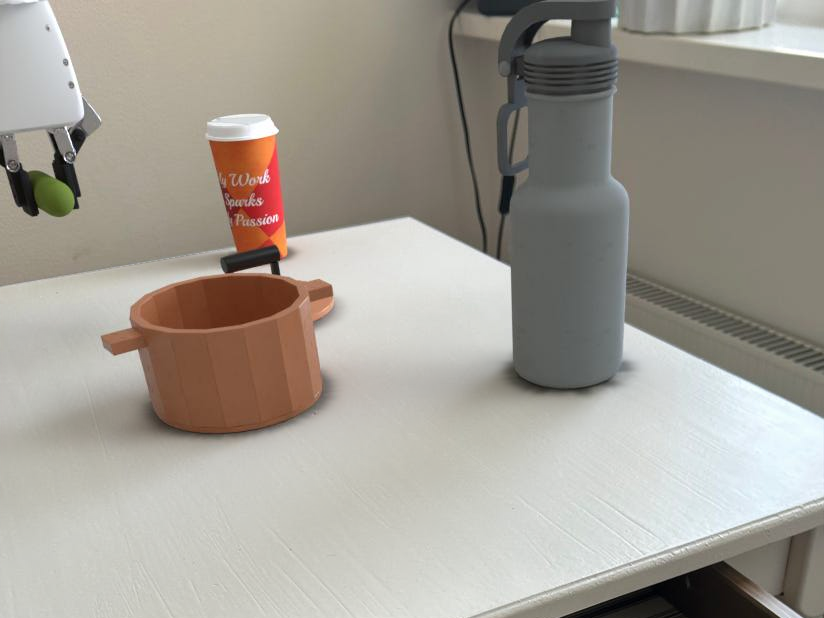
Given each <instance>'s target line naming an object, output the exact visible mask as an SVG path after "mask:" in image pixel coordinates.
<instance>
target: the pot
mask: <svg viewBox="0 0 824 618" xmlns="http://www.w3.org/2000/svg"><path fill="white" fill-rule="evenodd" d="M280 275H281V274H280ZM280 275H274V274H272V273H267V272H234V273H227V274H225V273H220V274H213V275H204V276H199V277H198V276H197V277H194V278H190V279H186V280H182V281H178V282H177V281H176V282H174V283H170V284H167V285H165V286H162V287H160V288H157V289H155V290H152V291H150V292H148V293H146V294H144V295H143V296H141V298H139V299H137V301H135V302H134V303H133V304H132V305H130V309H129V322H130V326H131V327H128V328H125V329H121V330H117V331H113V332H110V333H106V334H102V335H100V340H101V343H102V347H103V348H104V349H105V350H106V351H107V352H108V353H110V354H111V355H112V356H115V357H116V356H119V355H122V354H127V353H129V352H133V351H137V353H138V356H139V359H140V364H141V367H142V371H143V375H144V378H145V383H146V386H147V389H148V392H149V393H148V394H149V397H150V400H151V404H152V408H153V410H154V411H155V414H156V416H157V417H158V419H160V421H162V422H163V423H164V424H166V425H168V426H170V427H172V428H175V429H178V430H182V431H186V432H192V433H199V434H200V433H201V434H227V433H228V434H229V433H239V432H240V433H241V432H246V431H252V430H258V429H263V428H266V427H267V428H268V427H270V426H273V425H277V424H280V423H283V422H285V421H288V420H290V419H292V418H295V417H297V416H299V415H300V414H302V413H305V411H307V410H309V408H311V407H312V406H313V405H315V404H316V403H317V401H318V400H319V399H320V398H321V394H323V393H322V392H323V385H324V384H323V377H322V371H321V363H320V358H319V351H318V345H317V338H316V330H315V325H314V321H313V317H312V311H311V304H310V302H313V301H317V300H320V299H324V298H328V297H331V296H333V297H334V289H333V285H332V284H331V283H329V282H327V281H324V280H323V279H321V278H317V279H312V280H308V281H307V282H304V283H301V282H299V281H297V280H298V279H295V278H293V277H291V276H285V275H281V276H280Z"/></svg>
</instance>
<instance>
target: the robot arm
mask: <svg viewBox="0 0 824 618" xmlns="http://www.w3.org/2000/svg"><path fill="white" fill-rule="evenodd" d="M69 126H70V127H69ZM101 126H102V118H101V117H100V115H98V113H97V112H96V110H95V109H94V108H93V107H92V105H91V104H90V103H89V101H88V100H87V99H86V98H85V96H84V95H83V94H82V92H81V89H80V86H79V82H78V78H77V74H76V72H75V69H74V66H73V63H72V59H71V56H70V53H69V51H68V47H67V45H66V42H65V39H64V37H63V34H62V31H61V28H60V26H59V24H58V21H57V18H56V15H55V14H54V11H53V8H52V6H51V4H50V2H49V0H0V166H1V167H2V168H4V171H5V173H6V177H7V181H8V184H9V187H10V190H11V194H12V197H13V200H14V203H15V205H16V207H18V208H22V211H23V212H24V213H25V214H27V215H28V216H30V217H31V218H34V217H38V215H40V210H39V208H38V206H37V203H36V201H35V197H34V192H33V188H32V185H31V181H30V178H29V174H28V172H29V171H27V170H25V169H24V167H23V164H22V163H21V162H20V158H19V153H18V147H17V146H18V145H17V140H16V136H15V134H20V133H28V132H29V133H30V132H36V131H44V130H45V132H46V134H47V137H48V139H49V142H50V145H51V147H52V150H53V159H52V162H51V166H52V171H53V173H54V178H55V179H57V180H59V181H61V182H63V183H64V184H66V185H67V186H68V187H69V188H70V190H71V191H72V193H73V196H74V207H73V210H79V209H80V204H79V200H78V198H81V197H82V192H81V188H80V185H79V180H78V176H77V172H76V169H75V165H74V163H75V162H77V155H78V154H79V153H80V151H81V149H82V146H84V144H85V142H86V139H87V138H88V137H90V136H91V135H93V134H94V133H95V132H96V130H98V129H99V128H100V127H101ZM67 127H69V128H68V129H67ZM73 210H72V211H73Z"/></svg>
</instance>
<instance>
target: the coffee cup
mask: <svg viewBox="0 0 824 618" xmlns="http://www.w3.org/2000/svg"><path fill="white" fill-rule="evenodd" d="M274 123H275V122H274V121H273V120H272V119H271V116H269V115H268V114H263V113H241V114H240V113H239V114H230V115H226V116H220V117H216V118H214V119H212V120H210V121H207V123H206V132H205V135H204V138H205V139H206V140H208V142H209V147H210V151H211V153H212V159H213V162H214V166H215V167H214V168H215V171H216V174H217V178H218V183H219V187H220V191H221V195H222V199H223V202H224V207H225V211H226V215H227V219H228V222H229V226H230V231H231V234H232V238H233V242H234V245H235V250H236V254H237V253H241V252H245V251H249V250H254V249H258V248H262V247H266V246H270V245H276V246H277V247H278V249H279V251H280V256H281V259H283V258H285V257H287V255H288V243H287V231H286V224H285V223H286V222H285V211H284V202H283V193H282V184H281V176H280V166H279V157H278V148H277V147H278V146H277V137H276V134H278V133H279V131H280V130H279V129H278V128H277V127H276V125H275V124H274Z"/></svg>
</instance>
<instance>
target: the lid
mask: <svg viewBox="0 0 824 618" xmlns="http://www.w3.org/2000/svg"><path fill="white" fill-rule="evenodd" d="M281 259H282V258H281V256H280V251H279V249H278V247H277V246H276V245H270V246H266V247H262V248H258V249H254V250H249V251H245V252H241V253H237V252H236V253H233V254H228V255H224V256H221V257H220V260H219V262H220V267H221V270H222V272H223V274H227V273H239V272H241V271H245V270H250V269H253V268H259V267H262V266H266V265H269V266H270V267H269V268H270V271H271V273H270V274H274V275H280V276H282V275H281V269H280V263H279V262H280V261H281ZM296 280H297V281H299V282H301V283H304V282H308V281H307V280H299V279H296ZM310 304H311V311H312V317H313V322H316V321H318V320H320V319H321V318H323V317H324V316H325V315H327V314H329V312H330V311H331V310H332V309H333V307H334V304H335V298H334V295H333V296H331V297H328V298H324V299H320V300H317V301H313V302H310Z"/></svg>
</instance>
